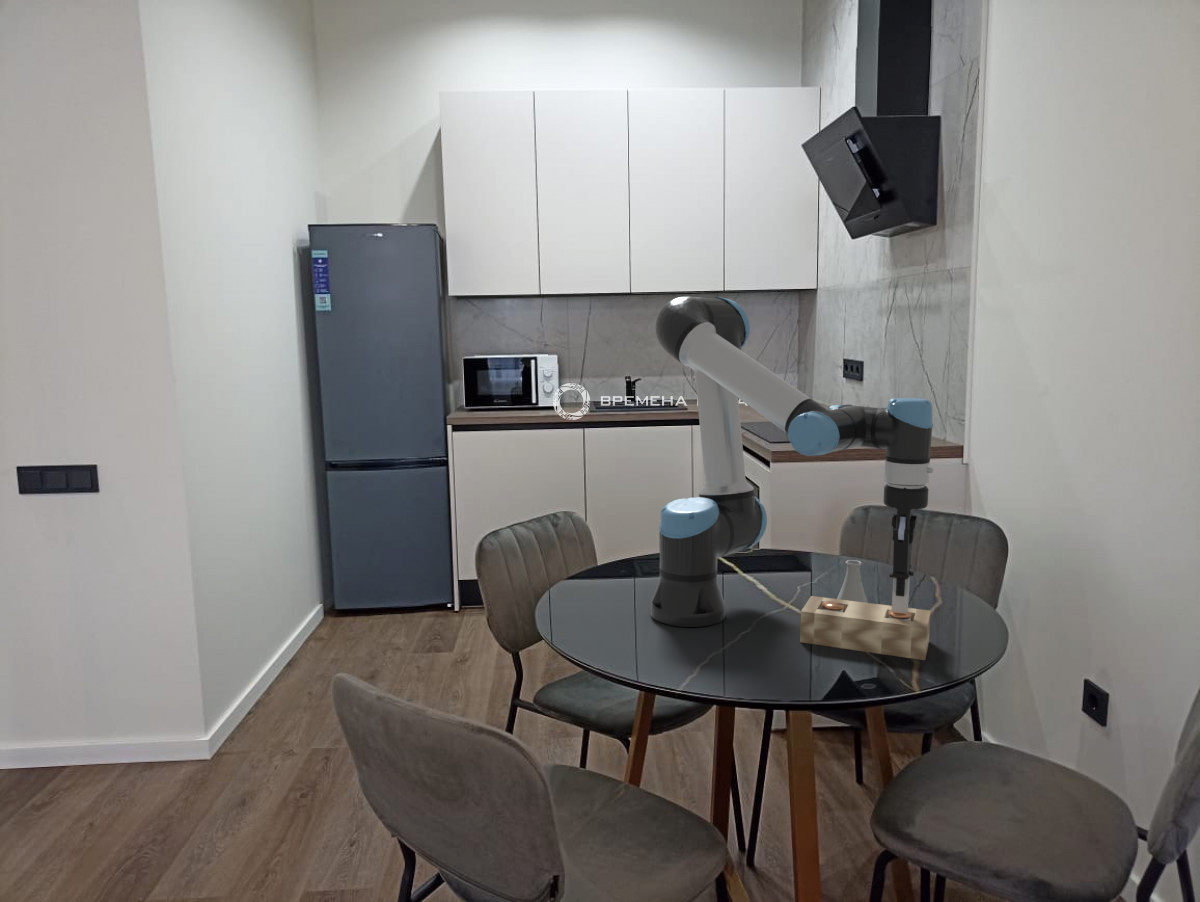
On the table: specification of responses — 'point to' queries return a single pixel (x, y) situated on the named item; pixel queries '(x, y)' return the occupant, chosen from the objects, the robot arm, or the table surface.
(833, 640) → the oak block
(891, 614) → the peg right
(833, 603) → the peg left
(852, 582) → the flask
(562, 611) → the table surface
